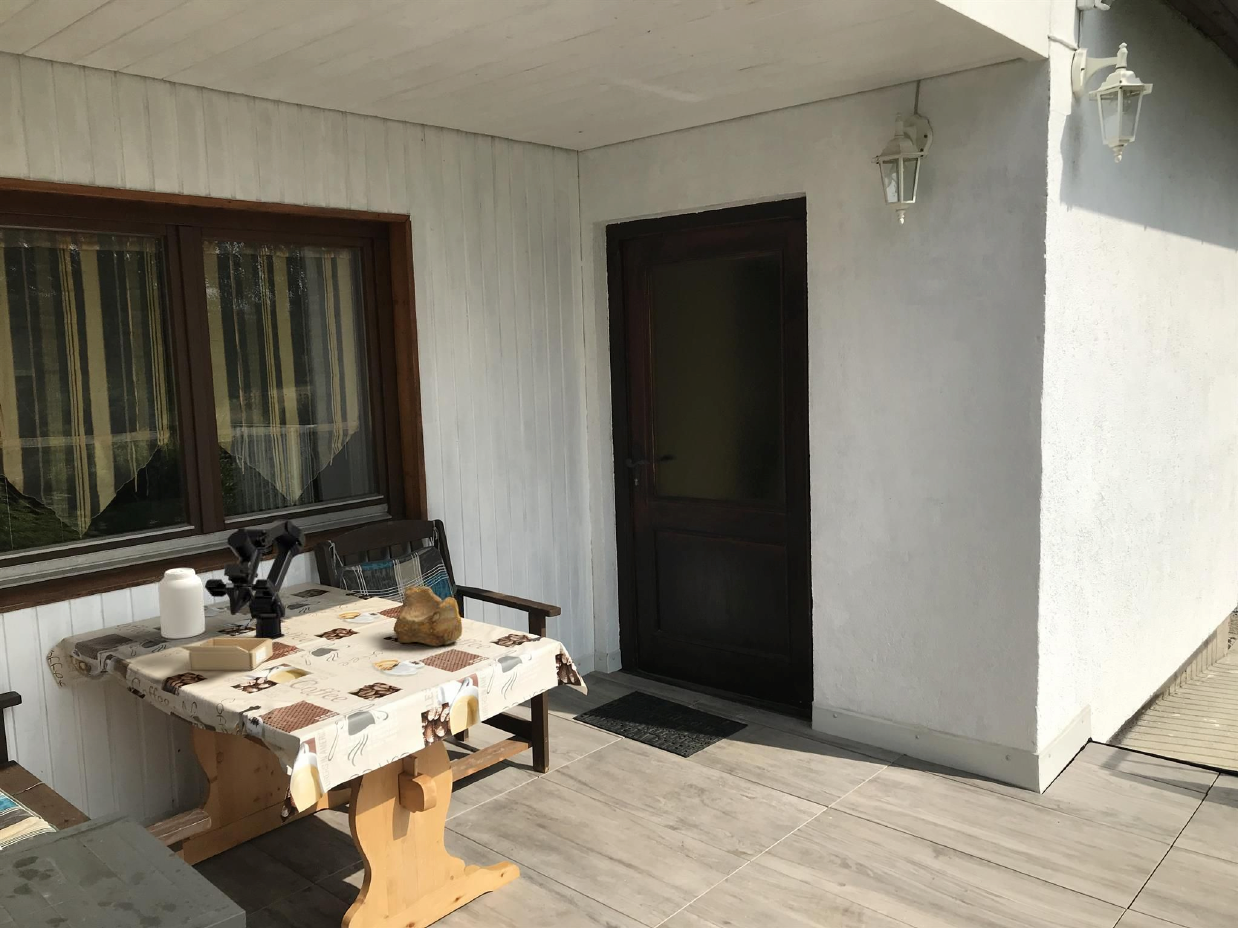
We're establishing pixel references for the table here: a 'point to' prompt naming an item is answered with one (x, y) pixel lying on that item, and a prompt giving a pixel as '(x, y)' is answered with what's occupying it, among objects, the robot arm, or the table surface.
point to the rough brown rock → (427, 618)
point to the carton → (232, 654)
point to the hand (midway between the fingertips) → (232, 614)
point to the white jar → (181, 604)
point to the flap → (213, 649)
